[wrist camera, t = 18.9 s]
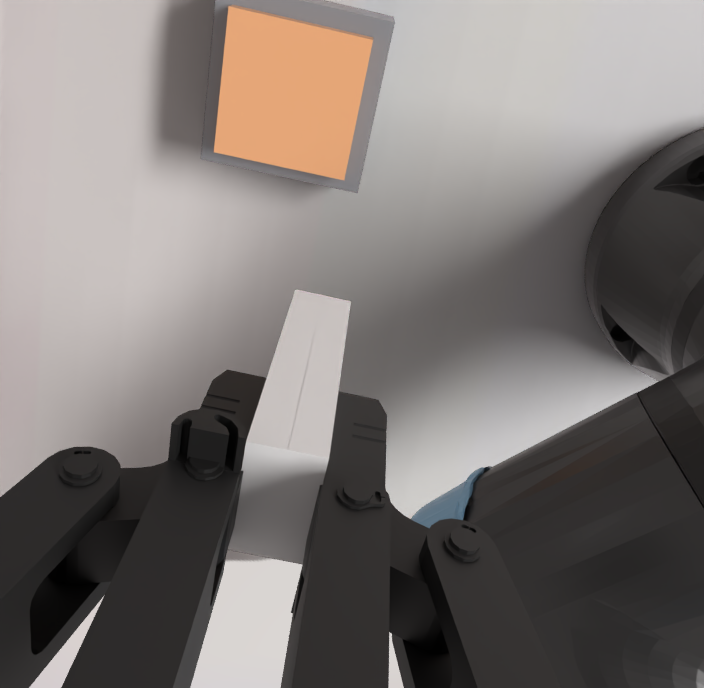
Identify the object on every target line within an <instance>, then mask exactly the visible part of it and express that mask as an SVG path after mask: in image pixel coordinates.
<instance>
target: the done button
mask: <svg viewBox="0 0 704 688" xmlns="http://www.w3.org/2000/svg"><path fill="white" fill-rule="evenodd" d="M372 43H373V37H369V36H365V35H361V34H356V33H352V32H348V31H344V30H339V29H335V28H331V27H326V26H322V25H318V24H314V23H309V22H305V21H301V20H296V19H292V18H288V17H284V16H279V15H275V14H271V13H266V12H262V11H258V10H254V9H249V8H245V7H241V6H237V5H231V6H229V7H228V17H227V27H226V36H225V46H224V56H223V66H222V76H221V86H220V96H219V105H218V115H217V125H216V135H215V145H214V152H215V153H220V154H224V155H229V156H234V157H238V158H243V159H247V160H252V161H257V162H261V163H266V164H270V165H275V166H280V167H284V168H289V169H293V170H298V171H303V172H307V173H312V174H317V175H321V176H326V177H330V178H335V179H340V180H344V179H345V174H346V169H347V165H348V160H349V155H350V150H351V145H352V140H353V135H354V131H355V126H356V121H357V116H358V111H359V106H360V101H361V97H362V92H363V87H364V82H365V77H366V72H367V67H368V63H369V58H370V53H371V48H372Z"/></svg>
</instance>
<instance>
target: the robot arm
mask: <svg viewBox="0 0 704 688" xmlns="http://www.w3.org/2000/svg"><path fill="white" fill-rule="evenodd" d="M585 287H586V294H587V298H588V302H589V305H590V308H591V310H592V313H593V315H594V317H595V319H596V321H597V323H598V324H599V326H600V328H601V329H602V331H603V333H604V334H605V336H606V338H607V339H608V341H609V342H610V344H611V345H612V346H613V347H614V349H615V350H616V351H617V352H618V353H619V354H620V355H621V356H622V357H623V358H624V359H625V360H626V361H628V362H629V363H630V364H631V365H633V366H634V367H635V368H637V369H638V370H640V371H642V372H643V373H645V374H647V375H649V376H650V377H652V378H654V379H656V380H658V381H659V382H657V383H655V384H653V385H651V386H649V387H648V388H646V389H644V390H642V391H640V392H638V393H635V394H633V395H631V396H629V397H627V398H625V399H623V400H621V401H619V402H617V403H615V404H613V405H611V406H609V407H608V408H606V409H604V410H602V411H600V412H598V413H596V414H594V415H592V416H590V417H588V418H586V419H584V420H582V421H580V422H579V423H577V424H575V425H573V426H571V427H569V428H567V429H565V430H563V431H561V432H559V433H557V434H555V435H553V436H551V437H550V438H548V439H546V440H544V441H542V442H540V443H538V444H536V445H534V446H532V447H530V448H528V449H526V450H524V451H522V452H521V453H519V454H517V455H515V456H513V457H511V458H509V459H507V460H505V461H503V462H501V463H499V464H497V465H495V466H494V467H485V468H480V469H478V470H476V471H474V472H473V473H472V474H471V475H470V476H469V477H468V479H467V480H466V481H465V482H464V483H462V484H460V485H459V486H457V487H455V488H453V489H452V490H450V491H448V492H447V493H445V494H443V495H442V496H440V497H438V498H436V499H435V500H433V501H431V502H430V503H428V504H426V505H425V506H423V507H422V508H421V509H420V510H419V511H417V512H416V513H415V515H414V516H413V517H412V518H411V519H409V518H407V517H406V516H404V515H403V514H402V513H400V512H399V511H398V510H397V509H396V508H395V507H394V506H393V505H392V503H391V502H390V498H389V494H388V493H387V492H386V489H385V471H386V425H387V414H386V413H385V411H384V409H383V407H382V406H381V404H380V402H379V400H376V399H372V398H367V397H362V396H357V395H352V394H348V393H343V392H338V391H339V384H340V377H341V370H342V363H343V355H344V348H345V341H346V334H347V327H348V320H349V313H350V305H351V301H348V300H343V299H339V298H334V297H329V296H325V295H320V294H315V293H311V292H306V291H302V290H297V289H295V292H294V295H293V298H292V301H291V304H290V308H289V311H288V314H287V317H286V320H285V323H284V326H283V329H282V332H281V335H280V338H279V341H278V345H277V348H276V351H275V354H274V357H273V360H272V363H271V366H270V369H269V372H268V375H267V378H264V377H259V376H255V375H250V374H245V373H240V372H236V371H231V370H226V371H225V372H224V373H222V374H221V375H219V376H218V377H216V378H215V379H214V380H213V381H212V383H211V385H210V388H209V390H208V392H207V395H206V396H205V398H204V401H203V403H202V406H201V407H200V409H198V410H192V411H188V412H186V413H184V414H182V415H180V416H178V417H177V418H176V419H175V421H174V422H173V423H172V426H171V437H170V447H169V458H168V461H166V462H164V463H162V464H159V465H155V466H152V467H143V468H120V464H119V462H118V461H117V459H116V458H115V456H113V455H112V454H110V453H108V452H107V451H105V450H102V449H98V448H93V447H73V448H69V449H65V450H62V451H59V452H57V453H56V454H54V455H52V456H50V457H49V458H47V459H46V460H45V461H44V462H42V463H41V464H40V465H39V466H38V467H36V468H35V469H34V470H33V471H32V472H30V473H29V474H28V475H27V476H26V477H24V478H23V479H22V480H21V481H20V482H18V483H17V484H16V485H15V486H14V487H12V488H11V489H10V490H9V491H8V492H6V493H5V494H4V495H3V496H2V497H0V688H29V687H30V686H31V684H32V683H33V682H34V681H35V679H36V678H37V677H38V676H39V675H40V673H41V672H42V671H43V669H44V668H45V667H46V666H47V665H48V663H49V662H50V661H51V660H52V659H53V657H54V656H55V655H56V654H57V652H58V651H59V650H60V649H61V648H62V646H63V645H64V644H65V643H66V641H67V640H68V639H69V638H70V637H71V635H72V634H73V633H74V632H75V630H76V629H77V628H78V627H79V626H80V624H81V623H82V622H83V621H84V619H85V618H86V617H87V616H88V614H89V613H90V612H91V611H92V610H93V608H94V607H95V606H96V605H97V603H98V602H99V601H100V600H101V599H102V597H103V596H104V595H105V596H104V598H103V600H102V602H101V605H100V607H99V609H98V611H97V613H96V615H95V617H94V620H93V621H92V624H91V626H90V628H89V630H88V632H87V634H86V636H85V638H84V641H83V643H82V645H81V647H80V649H79V651H78V653H77V656H76V658H75V660H74V662H73V664H72V666H71V668H70V670H69V673H68V675H67V677H66V679H65V681H64V683H63V686H62V687H61V688H190V686H191V682H192V679H193V676H194V672H195V668H196V665H197V661H198V658H199V655H200V651H201V648H202V644H203V641H204V637H205V634H206V630H207V627H208V623H209V620H210V617H211V613H212V610H213V606H214V602H215V599H216V596H217V592H218V589H219V585H220V582H221V578H222V575H223V570H224V565H225V559H226V553H227V550H232V551H237V552H242V553H247V554H252V555H257V556H262V557H267V558H272V559H278V560H283V561H288V562H293V563H298V564H303V566H302V570H301V574H300V579H299V582H298V586H297V591H296V595H295V599H294V603H293V607H292V611H291V613H293V617H292V623H291V629H290V635H289V641H288V647H287V653H286V659H285V665H284V671H283V677H282V683H281V688H388V675H389V674H388V673H389V632H390V633H392V641H393V646H394V649H395V654H396V657H397V661H398V666H399V670H400V673H401V677H402V682H403V686H404V688H704V129H702V130H699V131H697V132H695V133H692V134H690V135H688V136H686V137H684V138H682V139H680V140H678V141H676V142H674V143H672V144H671V145H669V146H667V147H666V148H664V149H663V150H661V151H660V152H658V153H657V154H655V155H654V156H653V157H651V158H650V159H649V160H647V161H646V162H645V163H644V164H643V165H641V166H640V167H639V168H638V169H637V170H636V171H635V172H634V173H633V174H632V175H631V176H630V177H629V178H628V179H627V180H626V181H625V182H624V183H623V184H622V185H621V187H620V188H619V189H618V190H617V191H616V193H615V194H614V196H613V197H612V198H611V200H610V201H609V203H608V204H607V206H606V207H605V209H604V211H603V212H602V214H601V216H600V218H599V220H598V222H597V224H596V226H595V229H594V231H593V234H592V237H591V240H590V243H589V246H588V251H587V256H586V263H585ZM228 546H229V547H228Z"/></svg>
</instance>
